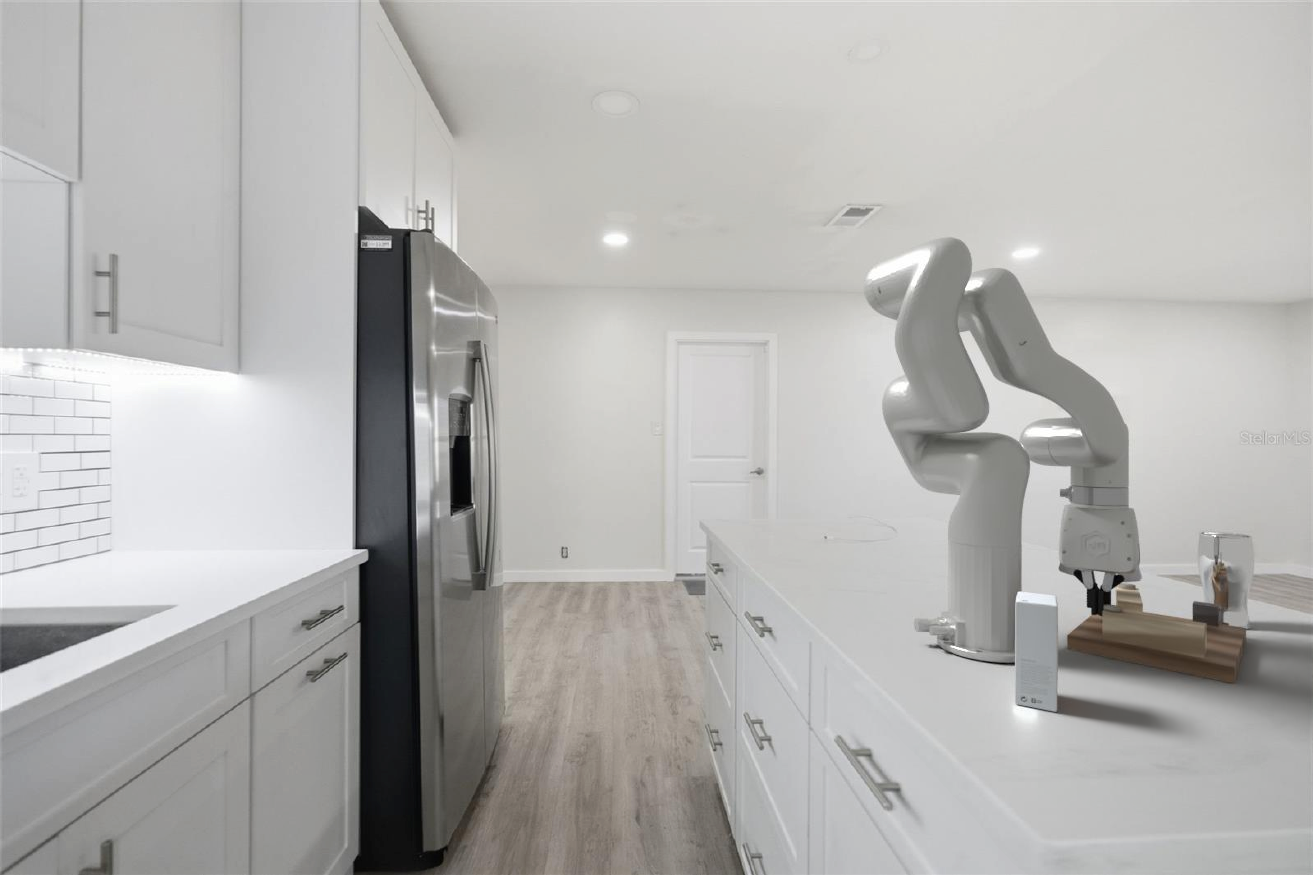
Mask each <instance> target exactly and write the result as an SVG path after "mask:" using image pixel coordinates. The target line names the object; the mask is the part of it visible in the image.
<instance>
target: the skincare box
mask: <svg viewBox="0 0 1313 875" xmlns="http://www.w3.org/2000/svg"><path fill="white" fill-rule="evenodd" d="M1058 606H1059V604H1058V598H1057V596H1056V595H1052V594H1043V593H1035V592H1028V591H1027V592H1026V591H1022V592H1021V591H1019V592H1018V593H1017V596H1016V604H1015V663H1014V704H1015V705H1018V706H1024V707H1028V708H1034V709H1038V710H1044V711H1049V712H1054V713H1055V712H1058V677H1059V676H1058V675H1059V668H1058V666H1059V654H1058V653H1059V635H1058V634H1059V607H1058Z"/></svg>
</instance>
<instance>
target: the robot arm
mask: <svg viewBox="0 0 1313 875" xmlns="http://www.w3.org/2000/svg"><path fill="white" fill-rule="evenodd" d="M972 271H973V257H972V254H971V252H970V249H969V248H968V245H966V243H965V242H964V241H962V240H961V239H959V238H956V237H940V238H935V239H931V240H929V241H926V242H923V243H921V244H918V245H916V246H913V247H911V248H909V249H907V250H905V251H903V252H900V253H897V254H895V255H893V256H890V257H888V258H886V259H884V260H881V261H880V262H878V263H877V264H875V265H874V266H873V267H871V268H870V270H869V271H868V273H867V274H866V276H865V279H864V282H863V293H864V297H865V300H866V302H867V303H868V305H869V306H870V307H871V308H872V309H873V310H874V311H875V312H876V313H878V314H880V315H881V316H883V317H886V318H888V319H891V320H894V321H896V325H895V330H894V348H895V352H896V355H897V357H898V360H899V364H900V365H901V367H902V370H903V373H904V374H903V375H901V376H898V377H896V378H895V379H893V380H892V381H891V382H890V383H889V384H888V386H887V387H886V389H885V391H884V392H883V396H882V402H881V404H882V406H881V408H882V416H883V419H884V422H885V425H886V428H887V430H888V432H889V434H890V436H891V438H892V440H893V442H894V444H895V445H896V448H897V450H898V452H899V454H900V456H901V458H902V459H903V461H904V463H905V466H906V467H907V469H908V471H909V473H910V475H911V476H912V478H913V479H914V480H915V481H916V482H915V483H917V484H918V485H919V486H921V488H923V489H925V490H926V491H929V492H933V493H938V494H940V493H941V494H947V495H956V496H959V498H958V500H957V502H956V504H955V506H954V507H953V509H952V512H951V514H950V516H949V521H948V526H947V527H948V528H947V541H948V544H947V545H948V546H947V547H948V548H947V551H948V553H947V554H948V555H947V556H948V558H947V561H948V562H947V565H948V566H947V568H948V569H947V571H948V572H947V573H948V576H947V577H948V578H947V579H948V580H947V582H948V583H947V585H948V588H947V591H948V592H947V595H948V596H947V597H948V598H947V603H948V606H947V608H948V609H947V611H941V616H937V617H935V619H929V618H914V621H913V625H914V626H913V628H914V630H915V632H916V633H917V632H918V633H929V635H930V636H936V643H937V645H938V646H939V648H942V649H944V650H945V651H947V652H949V653H951V654H954V655H957V656H960V657H963V658H968V659H972V660H977V661H984V662H990V663H1008V664H1010V663H1011V664H1013V663H1014V664H1015V604H1016V596H1017V593H1018V592H1019V591H1021V592H1023V591H1022V590H1023V583H1022V580H1023V579H1022V578H1023V577H1022V576H1023V574H1022V573H1023V572H1022V571H1023V570H1022V568H1023V566H1022V563H1023V562H1022V560H1023V558H1022V553H1023V550H1022V547H1023V546H1022V533H1023V532H1022V529H1023V527H1022V525H1023V522H1022V521H1023V508H1024V502H1025V496H1026V491H1027V486H1028V484H1029V479H1030V472H1031V462H1032V463H1034V464H1037V465H1041V466H1047V467H1065V468H1066V467H1070V485H1069V487H1068V488H1060V490H1059V497H1060V498H1065V499H1068V500H1069V503H1070V504H1064V505H1063V506H1064V507H1063V510H1062V514H1061V515H1062V516H1061V519H1060V520H1061V521H1060V529H1059V530H1060V531H1059V542H1058V544H1059V545H1058V546H1059V547H1058V560H1059V566H1058V571H1059V572H1060V573H1064V574H1067V575H1070V576H1073V577H1075V578H1076V579H1077V580H1078V581H1079V582H1080V583H1081V584H1082V585H1083V587H1084V588H1085V589H1086V608H1089V609H1090V610H1091V611H1090V612H1091V613H1090V614H1091V615H1097V614H1098V615H1099V616H1102V611H1103V610H1104V605H1112V590H1113V589H1116V586H1119V584H1121V583H1132V582H1133V583H1134V582H1135V583H1136V582H1140V581H1142V578H1143V576H1142V573H1141V570H1140V563H1141V553H1140V552H1141V550H1140V536H1139V528H1138V520H1137V516H1136V512H1135V509H1134V508H1132V507H1129V504H1130V503H1129V502H1130V501H1129V500H1130V499H1129V498H1130V496H1129V495H1130V492H1129V484H1130V482H1129V481H1130V480H1129V475H1130V473H1129V471H1130V468H1129V466H1130V465H1129V461H1130V460H1129V459H1130V457H1129V456H1130V455H1129V452H1130V451H1129V450H1130V448H1129V446H1130V438H1129V437H1130V436H1129V434H1130V433H1129V427H1128V425H1127V424H1126V423H1125V421H1124V418H1123V416H1122V414H1121V411H1120V410H1119V408H1118V406H1117V403H1116V402H1115V399H1114V397H1113V396H1112V394H1111V393H1110V392H1109V390H1108V389H1107V388H1106V387H1105V386H1104V385H1103V384H1102V383H1101V382H1100V381H1099V380H1098V379H1096V378H1095V377H1094V376H1092V375H1091V374H1089V373H1088V372H1087V371H1086V370H1084V369H1083V368H1082V367H1079V365H1077V364H1075V363H1074V362H1072V361H1071V360H1068V358H1066V357H1063V355H1060V354H1059V353H1057V352H1056V351H1055V350H1054V348H1053V346H1052V344H1051V343H1050V341H1049V338H1048V337H1047V334H1046V332H1045V330H1044V329H1043V327H1042V325H1041V322H1040V320H1039V319H1038V316H1037V314H1036V312H1035V311H1034V308H1033V307H1032V304H1031V302H1030V301H1029V298H1028V297H1027V294H1026V292H1025V291H1024V289H1023V287H1022V285H1021V283H1020V281H1019V279H1018V278H1017V276H1016V275H1015V274H1014V273H1013V272H1012V271H1010V270H1008V269H1006V268H1002V267H991V268H985V269H980V270H976V271H974V272H972ZM963 332H970V334H971V336H972V337H973V339H974V341H975V343H976V345H977V347H978V349H979V351H980V352H981V354H982V356H983V358H984V360H985V362H986V365H987V366H988V367H989V370H990V372H991V374H992V376H993V378H995V379H996V380H998V382H1001V383H1003V384H1005V385H1008V386H1010V387H1013V388H1016V389H1019V390H1022V391H1025V392H1029V393H1032V394H1034V395H1038V396H1040V397H1041V398H1045V399H1047V400H1049V401H1050V402H1053V403H1055V404H1056V405H1057V406H1059V407H1060V408H1062V409H1063V410H1064V411H1065V412H1066V413H1067V414H1068V415H1069V417H1059V418H1058V417H1055V418H1042V419H1038V420H1036V421H1032V422H1031V423H1030V424H1028V425H1026V427H1024V428H1023V430H1022V431H1021V433H1020V436H1019V441H1018V440H1017V439H1015V438H1014V437H1012V436H1009V435H1007V434H1004V433H999V432H989V431H988V432H987V431H985V432H981V431H980V432H971V431H973V430H976V429H978V428H979V427H981V426H982V425H983V424H985V422H986V420H988V417H989V414H990V402H989V398H988V395H987V392H986V389H985V387H984V386H983V383H982V380H981V378H980V377H979V374H978V372H977V370H976V368H975V366H974V363H973V362H972V360H971V357H970V355H969V354H968V353H969V352H968V350H967V349H966V347H965V343H964V341H963V339H962V337H961V333H963ZM1095 572H1100V573H1104V576H1103V580H1102V584H1101V585H1100V587H1099V586H1098V583H1097V582H1096V576H1095ZM1091 615H1090V616H1091Z"/></svg>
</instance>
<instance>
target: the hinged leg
mask: <svg viewBox="0 0 1313 875" xmlns="http://www.w3.org/2000/svg"><path fill="white" fill-rule="evenodd" d="M1136 586H1137V585H1136V584H1133V583H1128V582H1122V583H1121V584H1119V585H1118V586H1116V587H1115V605H1116V606H1120V607H1123V610H1126V611H1132V612H1138V613H1143V612H1144V611H1143V610H1144V603H1143V599H1142V596H1141V593H1140V589H1139V588H1137V587H1136Z"/></svg>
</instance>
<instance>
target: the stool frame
mask: <svg viewBox="0 0 1313 875" xmlns="http://www.w3.org/2000/svg"><path fill="white" fill-rule="evenodd" d="M1066 642H1067V643H1066V646H1067V647H1066V649H1067V650H1072V651H1077V652H1080V653H1086V654H1092V655H1096V656H1100V657H1106V658H1111V659H1115V660H1118V661H1125V662H1130V663H1133V664H1139V665H1144V666H1150V667H1155V668H1157V669H1158V668H1159V669H1163V670H1168V671H1174V672H1177V673H1178V672H1179V673H1183V674H1188V675H1193V676H1198V677H1202V678H1208V679H1212V680H1216V681H1221V682H1226V683H1230V684H1236V680H1237V676H1238V672H1239V668H1240V667H1241V666H1240V665H1241V661H1242V657H1243V654H1244V650H1245V646H1246V643H1247V630H1246V628H1242V627H1236V626H1230V625H1223V624H1220V605H1218V604H1211V603H1204V602H1203V601H1202V602H1201V601H1197V600H1194V601H1193V602H1192V619H1191V618H1185V617H1178V616H1171V615H1166V614H1160V613H1159V614H1158V613H1153V612H1147V611H1143V613H1138V612H1132V611H1126V610H1123V607H1120V606H1116V604H1111V605H1104V610H1103V611H1102V616H1099V615H1098V614H1097V615H1089V616H1088V617H1087V618H1086V619H1085V620H1084V621H1083V622H1081V623H1080V624H1079V625H1077V626H1076V627H1075V628H1074V629H1072V631H1070V632H1069V633H1068V634H1067V635H1066Z"/></svg>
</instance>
